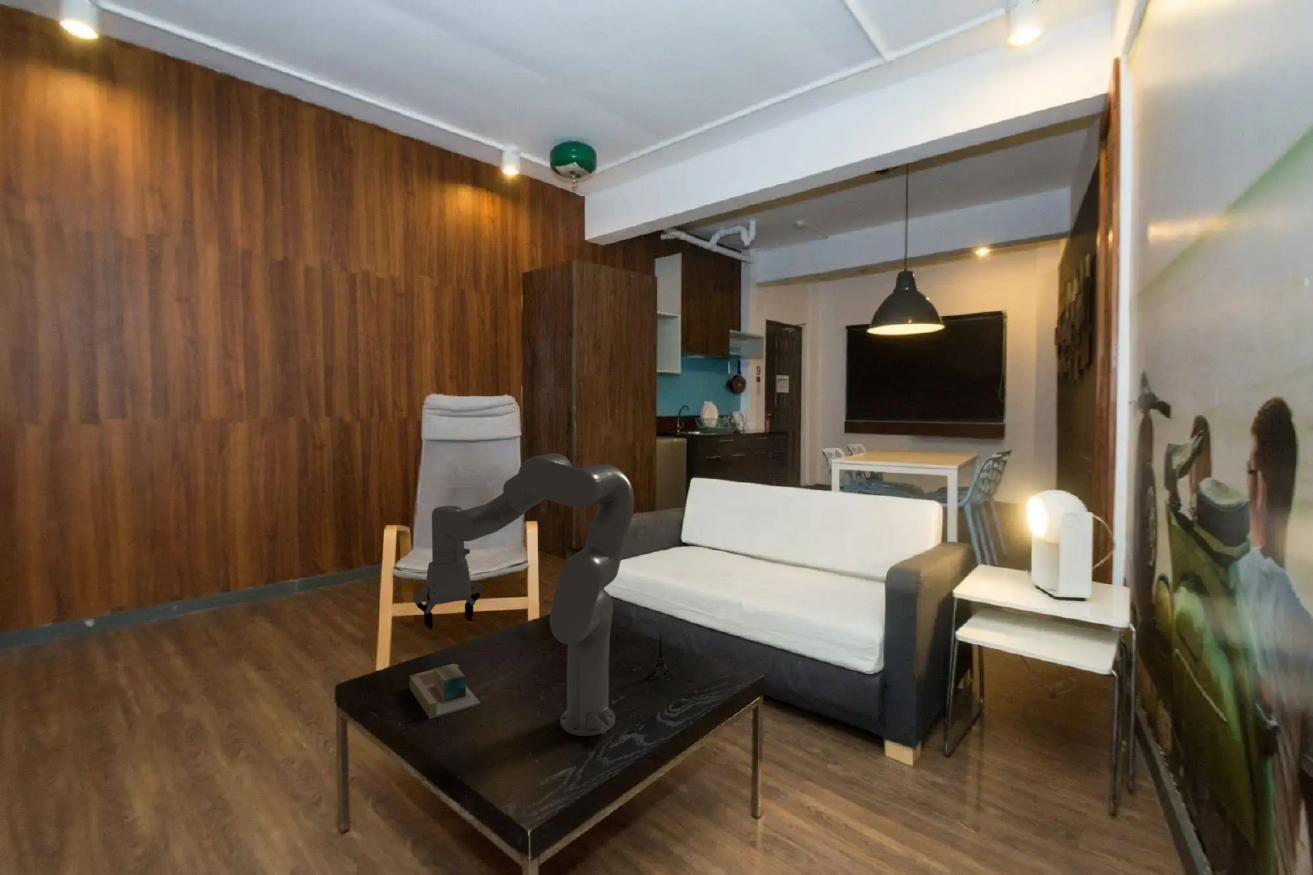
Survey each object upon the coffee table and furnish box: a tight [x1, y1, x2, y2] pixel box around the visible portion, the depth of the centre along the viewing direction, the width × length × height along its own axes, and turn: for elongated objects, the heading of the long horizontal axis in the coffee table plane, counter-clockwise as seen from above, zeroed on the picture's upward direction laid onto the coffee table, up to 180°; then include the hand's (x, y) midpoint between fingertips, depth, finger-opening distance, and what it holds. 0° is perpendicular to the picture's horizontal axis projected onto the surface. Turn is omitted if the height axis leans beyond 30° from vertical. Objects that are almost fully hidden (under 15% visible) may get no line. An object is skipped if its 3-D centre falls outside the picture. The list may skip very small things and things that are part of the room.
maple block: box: [433, 663, 467, 702], centre depth 153 cm, size 5×9×5 cm, turn 36°
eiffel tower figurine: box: [632, 632, 670, 681], centre depth 165 cm, size 15×10×13 cm
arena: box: [409, 663, 481, 720], centre depth 152 cm, size 18×12×4 cm, turn 36°
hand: (449, 623), depth 153 cm, fingers open, 9 cm apart
